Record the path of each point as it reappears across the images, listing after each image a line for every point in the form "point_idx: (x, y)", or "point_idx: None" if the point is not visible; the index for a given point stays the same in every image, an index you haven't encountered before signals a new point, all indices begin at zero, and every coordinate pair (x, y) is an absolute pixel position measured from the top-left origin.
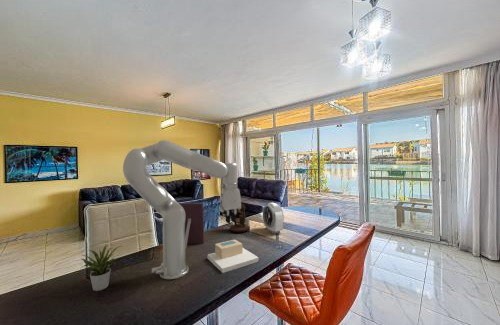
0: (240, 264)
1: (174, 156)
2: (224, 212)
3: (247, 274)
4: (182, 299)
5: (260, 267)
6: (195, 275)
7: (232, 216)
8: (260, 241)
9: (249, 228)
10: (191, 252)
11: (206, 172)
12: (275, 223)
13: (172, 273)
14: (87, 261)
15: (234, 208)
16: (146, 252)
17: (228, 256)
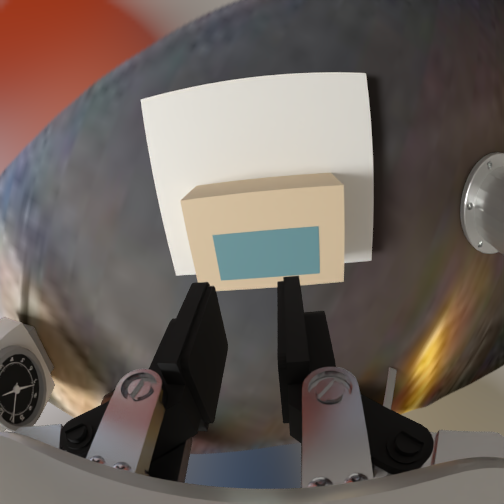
0: (257, 77)
1: None
2: (417, 428)
3: (256, 11)
4: (498, 34)
5: (170, 44)
6: (455, 131)
7: (207, 372)
8: (80, 297)
9: (103, 398)
10: (389, 334)
11: None
12: (3, 341)
13: None
14: None
15: (121, 484)
16: (473, 373)
17: (289, 176)
